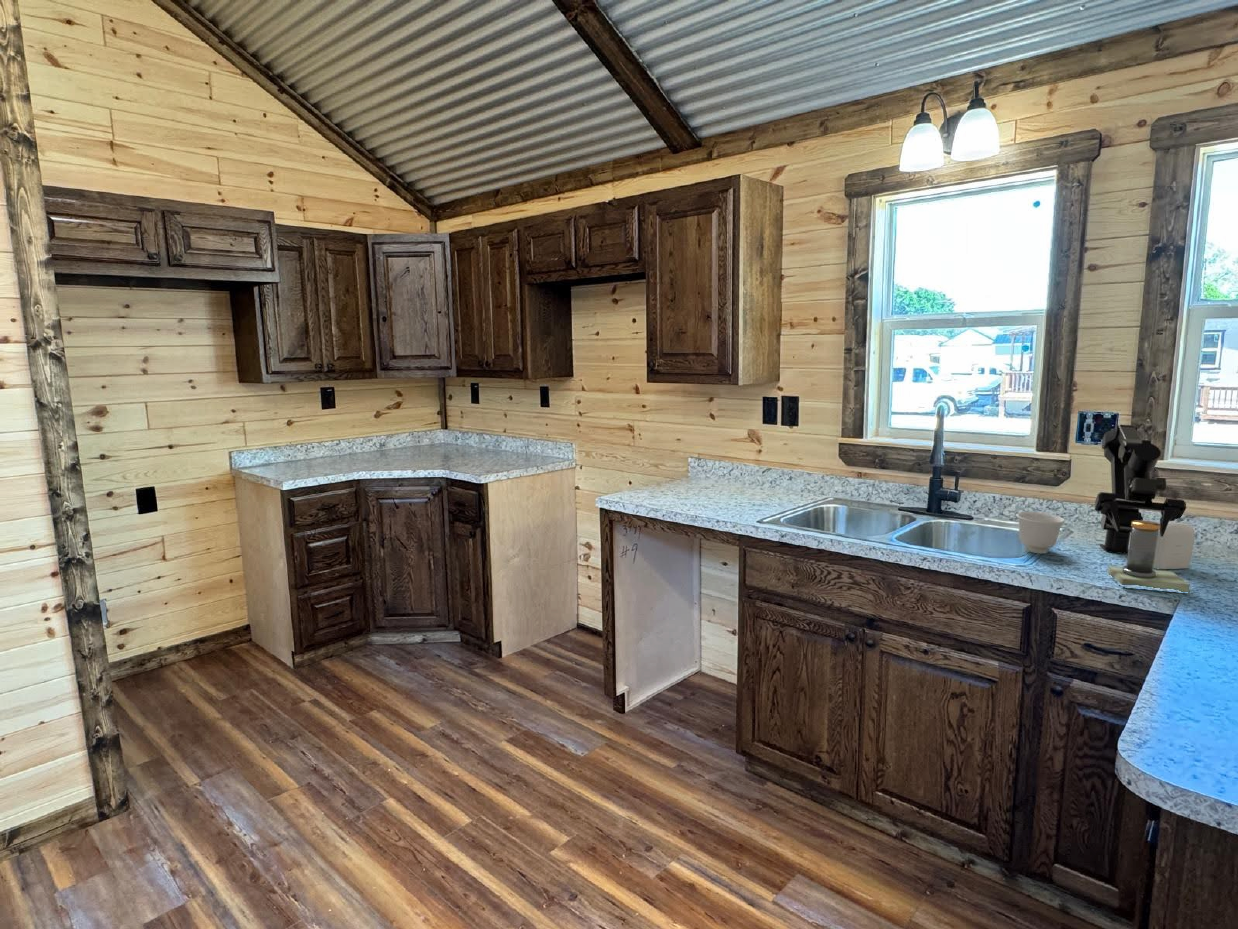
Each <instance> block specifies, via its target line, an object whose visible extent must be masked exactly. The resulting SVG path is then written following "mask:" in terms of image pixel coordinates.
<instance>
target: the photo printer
mask: <svg viewBox="0 0 1238 929" xmlns="http://www.w3.org/2000/svg"><path fill="white" fill-rule="evenodd" d="M1195 535H1196V533H1195V529H1194V527H1193V526H1191V525H1188V524H1187V523H1186V524H1185V523H1182V522H1168V525H1167V527H1166V530H1165V533H1164V535H1163V537H1161V536H1160V530H1159V531H1158V538H1157V545H1156V552H1155V558H1154V565H1153V568H1162V569H1161V570H1177V569H1189V568H1190V567H1191V561H1192V554H1193V548H1194V543H1195Z"/></svg>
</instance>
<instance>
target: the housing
mask: <svg viewBox="0 0 1238 929" xmlns="http://www.w3.org/2000/svg"><path fill="white" fill-rule="evenodd" d="M1131 526H1132V530H1131V534H1130V541H1129V548H1128V549H1129V551H1128V554H1127V557H1126V558H1127V559H1126V560H1127V561H1126V565H1123V566H1122V567H1123V569H1122V572H1123V573H1125V574H1127V575H1130V576H1133V577H1139V578H1155V576H1156V572H1155V571H1154V570H1155V569H1153V565H1154V558H1155V552H1156V545H1157V538H1158V531H1159V530H1160V523H1157V522H1154V521H1150V520H1143V521H1142V520H1134V521H1132V523H1131Z"/></svg>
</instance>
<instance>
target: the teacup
mask: <svg viewBox="0 0 1238 929" xmlns="http://www.w3.org/2000/svg"><path fill="white" fill-rule="evenodd" d="M1015 516H1016V517H1017V519H1018V536H1019V537H1018V538H1019V540H1020V542H1021V544H1023V545H1025V547H1024V550H1026V552H1029V553H1033V554H1048V552H1049V549H1050V548H1052V547H1054V546H1055V545H1056V543H1057V541H1058V537H1059V533H1060V530H1061V527H1062V525H1063V523H1065V521H1066V520H1065V519H1064V518H1063V517H1061V516H1058V515H1056V514H1051V513H1047V512H1043V511H1020V512H1018V513H1016V514H1015Z"/></svg>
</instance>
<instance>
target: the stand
mask: <svg viewBox="0 0 1238 929" xmlns="http://www.w3.org/2000/svg"><path fill="white" fill-rule="evenodd" d="M1123 567H1124V566H1115V565H1108V568H1107V573H1108V574H1109V575H1111V576H1112V577H1113V578H1115V579H1116V580H1117V581H1118V582H1120V583H1121V584H1122V585H1139V586H1146V587H1153V588H1160V589H1174V590H1179V591H1181V592H1190V588H1191V585H1190V583H1189V582H1187V581H1186V580H1184V579H1183V578H1182V577H1180V576H1179V575H1177V573H1175V572H1173V571H1171V570H1163V569H1153V570H1154V571H1155V572H1156V576H1155V578H1139V577H1133V576H1130V575H1127V574H1125V573H1123V572H1122V569H1123Z"/></svg>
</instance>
